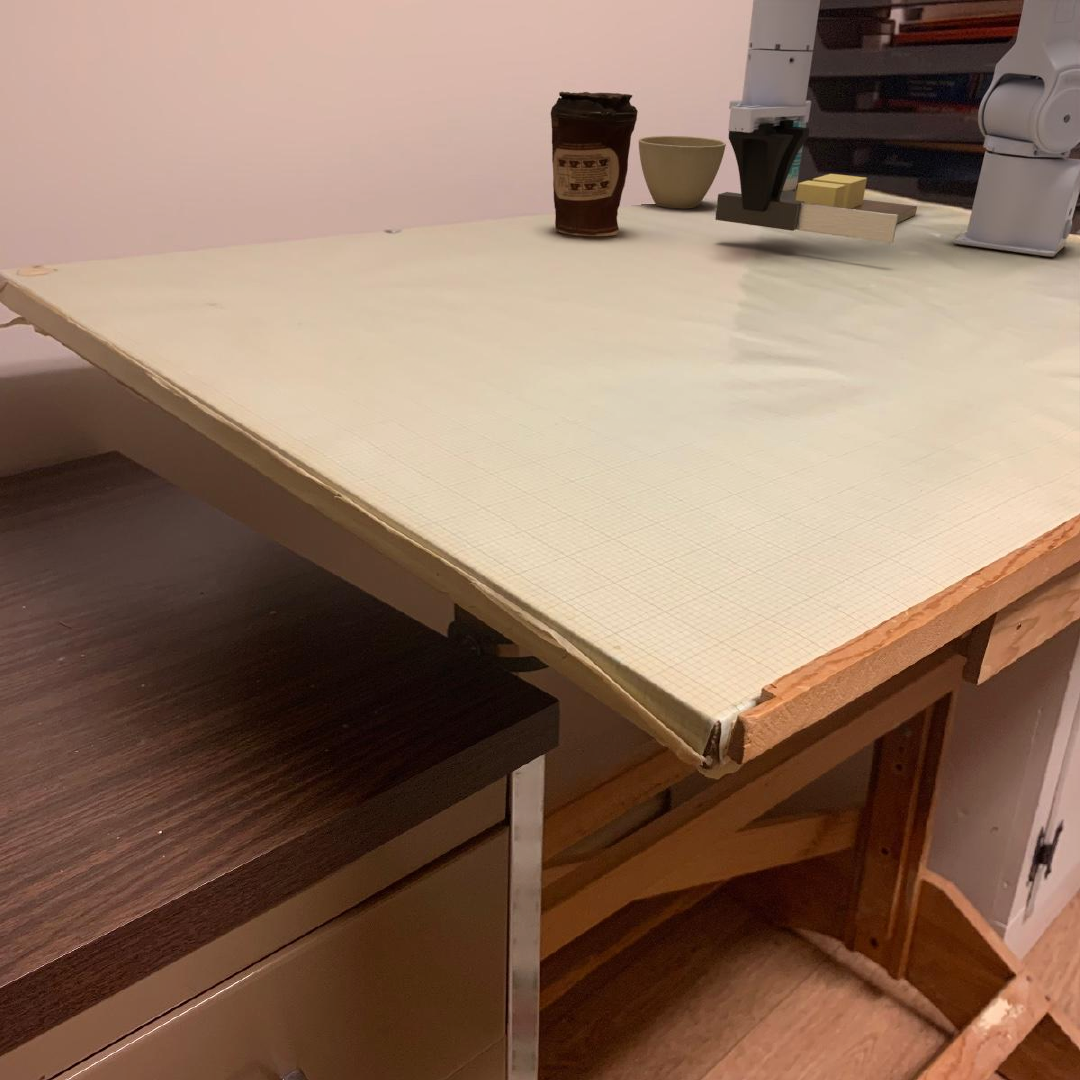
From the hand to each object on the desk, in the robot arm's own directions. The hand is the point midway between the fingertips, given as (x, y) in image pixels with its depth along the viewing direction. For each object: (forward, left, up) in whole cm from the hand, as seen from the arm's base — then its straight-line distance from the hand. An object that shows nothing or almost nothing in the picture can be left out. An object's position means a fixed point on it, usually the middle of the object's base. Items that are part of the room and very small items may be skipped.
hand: (759, 208), depth 94 cm
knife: (-4, 0, -1) cm, 4 cm away
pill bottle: (+14, -38, -4) cm, 41 cm away
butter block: (+1, -25, -3) cm, 25 cm away
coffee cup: (+16, +5, -4) cm, 17 cm away
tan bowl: (+17, -17, -4) cm, 24 cm away
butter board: (+1, -23, -4) cm, 23 cm away
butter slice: (+1, -19, -3) cm, 19 cm away
